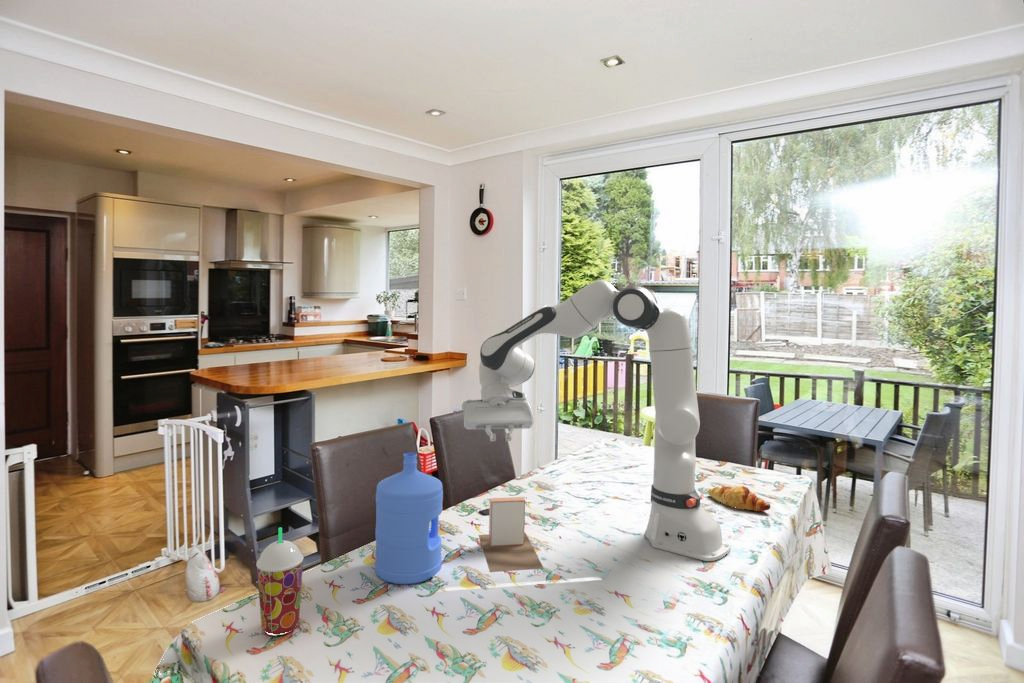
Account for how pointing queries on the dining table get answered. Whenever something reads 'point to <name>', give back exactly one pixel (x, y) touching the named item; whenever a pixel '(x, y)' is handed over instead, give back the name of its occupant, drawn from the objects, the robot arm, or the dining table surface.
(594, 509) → the dining table surface
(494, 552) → the walnut board
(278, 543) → the smoothie
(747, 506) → the croissant
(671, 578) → the dining table surface
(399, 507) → the water jug
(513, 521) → the terracotta tile
